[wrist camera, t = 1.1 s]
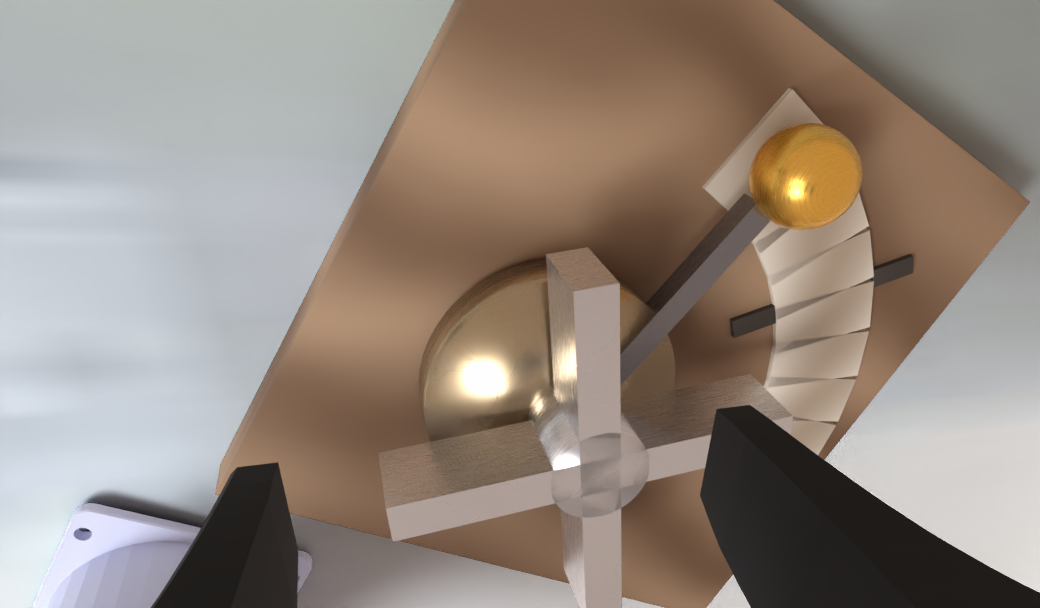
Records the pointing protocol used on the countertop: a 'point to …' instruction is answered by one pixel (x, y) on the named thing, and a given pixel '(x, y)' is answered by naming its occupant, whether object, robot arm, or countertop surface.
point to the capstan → (592, 377)
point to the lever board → (618, 249)
